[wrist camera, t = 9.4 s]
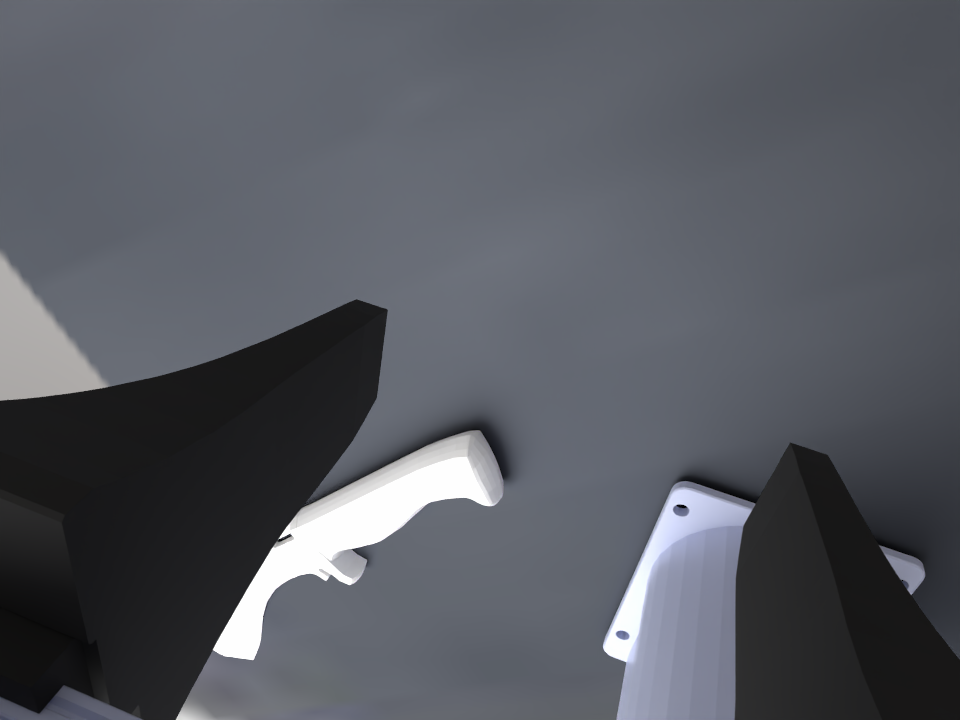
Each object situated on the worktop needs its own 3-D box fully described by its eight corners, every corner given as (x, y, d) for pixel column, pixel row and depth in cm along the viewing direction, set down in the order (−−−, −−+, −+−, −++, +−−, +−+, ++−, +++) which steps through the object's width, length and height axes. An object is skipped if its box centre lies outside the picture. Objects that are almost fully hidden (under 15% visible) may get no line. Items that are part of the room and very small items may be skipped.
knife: (185, 712, 45) (83, 627, 42) (202, 687, 46) (103, 603, 44) (596, 594, 27) (457, 442, 25) (605, 559, 28) (473, 412, 26)
